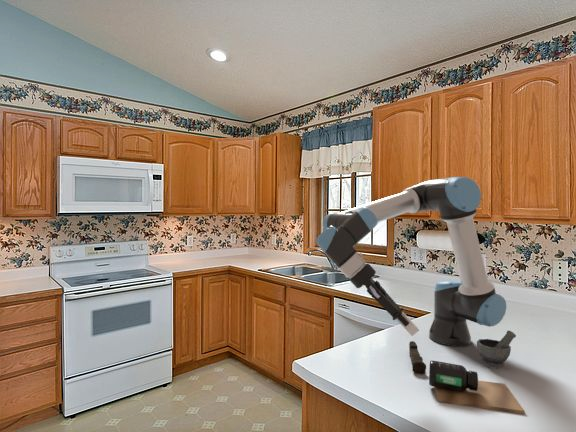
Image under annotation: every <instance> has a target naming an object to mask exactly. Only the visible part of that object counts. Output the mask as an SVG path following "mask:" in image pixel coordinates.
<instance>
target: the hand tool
mask: <svg viewBox="0 0 576 432" xmlns="http://www.w3.org/2000/svg"><path fill="white" fill-rule="evenodd" d="M408 349H409V357H410V360H411V365H412V369H411V370H412V373H414V374H417V375H424V374H425V373H426V370H427V364H426V363H425V362H424V361H423V360H424V359H423V357H422V356H421V353H420V352H419V349H418V345H417V343H416V342H415V341H414V340H411V341H409V344H408Z"/></svg>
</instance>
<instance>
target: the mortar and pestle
mask: <svg viewBox="0 0 576 432" xmlns="http://www.w3.org/2000/svg"><path fill="white" fill-rule="evenodd" d="M516 337H517V335H516V334H515V333H514V332H513V331H511V330H507V331H506V333H505V335H504V336H503V337H502V338H501V339H500V340H496V339H491V338H490V339H488V338H481V339H478V340H476V350H477V352H478V354H479V356H480V357H481V358H482V360H481V364H483V366H486V367H488V368H490V369H491V368H492V369H497V370H498V369H501V370H502V369H503V368H504V367H505V366H504V365H505V364H504V363H505V362H507V360H508V359H509V357H510V356H511V349H512V347H511V343H512V342H513V340H514V339H515V338H516Z"/></svg>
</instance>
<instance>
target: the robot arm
mask: <svg viewBox="0 0 576 432" xmlns="http://www.w3.org/2000/svg"><path fill="white" fill-rule="evenodd" d="M481 201H482V192H481V189H480V187H479V185H478V183H477V182H476V181H475V180H473V179H472V178H470V177H468V176H450V177H444V178H433V179H428V180H426V181H423V182H420V183H418V184H415V185H412V186H410V187H407V188H404V189H403V190H402V192H400V193H397V194H394V195H390V196H387V197H384V198H381V199H377V200H375V201H371V202H368V203H365V204H362V205H358V206H356V207H353V208H350V209H347V210H343V211H340V212H332V213H329V214H327V215H325V217H324V218H323V221H322V229H323V231H322V232H321V233H320V234H319V235H318V236H317V237H316V238H315V239H316V240H315V242H316V245H317V246H318V247H319V249H320V250H321V251H322V252H323V254H325V256H326V257H327V258H329V259H330V260H331V262H332V263H333V264H334V265H335V266H336V267H337V268H338V270H339V271H340V272H341V273H342V274H343V275H344V276H345V278H348V279H349V281H350V283H351V284H352V285H354V287H355V288H356V289H360V288H362V287H365V288H366V292H367V294H369V295H370V296H371V298H372V299H374V300H375V301H376V302H377V303H378V305H380V306H381V307H382V308H383V309H384V310H385V311H386V312H387V313H388V314H389V315H390V316H391V318H392V320H393V321H395V320H397V322H398V323H399V324H400V325H401V326H402V328H404V329H405V331H407V332H408V334H410V336H411V337H413V336H414V335H416V334H417V333H418V332H419V331H420V328H419V327H418V326H417V325H416V324H415V323H414V322H413V321H412V320H411V319H410V317H408V316H407V314H405V312H404V310H405V309H404V308H403V307H401V308H400V306H399V304H397V302H396V301H395V300H394V299H393V298H392V297H391V295H389V294H388V292H387V291H386V290H385V289H384V288H383V287H382V285H381V283H380V282H379V281H378V280H375V279H373V277H374V276H375V275H376V272H377V271H376V270H375V268H373V266H371V264H370V263H366V260H365V259H364V257H363V253H361V252H360V253H359V251H357V249H356V248H354V247H355V246H356V245H357V244H358V243H360V242H361V240H363V239H364V238H365V237H366V236H367V235H369V233H371V232H372V230H373V229H375V227H376V226H377V225H378V223H382V222H383V221H387V220H389V219H392V218H395V217H398V216H401V215H403V214H407V213H409V214H415V213H418V212H429V211H431V212H433V211H434V212H438V213H439V217H440V219H441V221H443V222H445V223H446V225H447V230H448V235H449V238H450V241H451V242H450V243H451V245H452V246H451V247H452V250H453V251H452V252H453V255H454V259H455V262H456V266H457V270H458V275H459V279H460V281H457V280H454V281H453V280H447V281H446V280H445V281H443V280H442V281H437V282H436V283H435V286H434V305H433V306H434V310H433V311H434V313H433V314H434V315H433V317H434V318H433V320H432V323H431V325H430V327H429V330H428V332H429V333H428V338H429V339H430V340H431V341H433V342H436V343H438V344H442V345H445V346H451V347H452V346H454V347H465V346H466V347H467V346H470V345H471V343H472V337H471V336H472V335H471V333H470V332H471V331H470V329H469V327H468V323H467V321H469V322H473V323H476V324H477V325H480V326H486V327H494V326H497V325H498V324H500V323H501V322H502V320H503V319H504V318H505V317H504V316H505V315H506V311H507V301H506V299H505V298H504V296H502V295H500V294H497V293H496V289H495V285H494V283H492V282H490V281H489V280H488V276H487V275H488V274H487V272H486V267H485V264H484V263H485V262H484V258H483V254H482V251H481V249H482V248H481V245H480V241H479V238H478V233H477V229H476V224H475V220H474V217H475V215H476V214H477V212H478V211H477V208H478V207H479V206H480V205H481Z"/></svg>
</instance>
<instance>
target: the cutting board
mask: <svg viewBox="0 0 576 432" xmlns="http://www.w3.org/2000/svg"><path fill="white" fill-rule="evenodd" d="M433 388H434V391H435V395H436V397H437V398H436V399H437V402H439V403H445V404H452V405H459V406H465V407H466V406H467V407H472V408H477V409H478V408H479V409H487V410H494V411H500V412H506V411H507V413H512V414H513V413H514V414H519V415H520V414H522V415H525V413H526V412H525V409H524V407H522V405H521V404H520V403H519V401H518V400H517V398H516V397H515V395H514V394H513V392H511V389H509V387H508V386H507V384H506V383H501V382H494V381H485V380H479V379H478V389H477V391H474V390H469V389H468V388H467V389H466V390H465V391H464V392H458V391H453V390H448V389H443V388H438V387H433Z"/></svg>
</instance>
